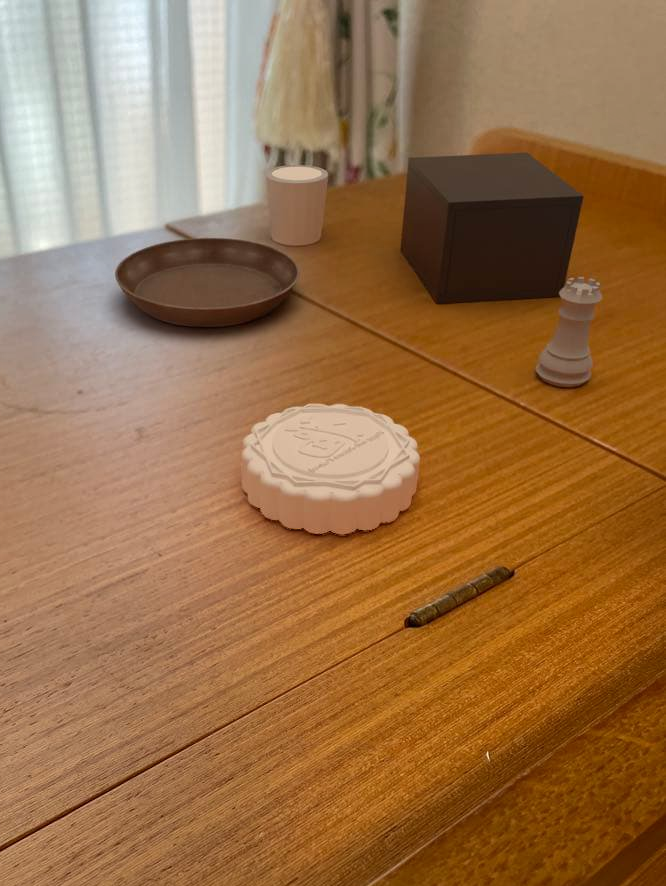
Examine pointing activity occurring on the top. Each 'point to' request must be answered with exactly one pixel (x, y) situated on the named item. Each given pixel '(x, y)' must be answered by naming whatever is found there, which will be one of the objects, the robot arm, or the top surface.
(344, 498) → the mooncake
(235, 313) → the plant saucer
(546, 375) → the rook chess piece
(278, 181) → the pale pink cup
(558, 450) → the top surface
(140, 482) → the top surface
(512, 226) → the cabinet
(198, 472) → the top surface
